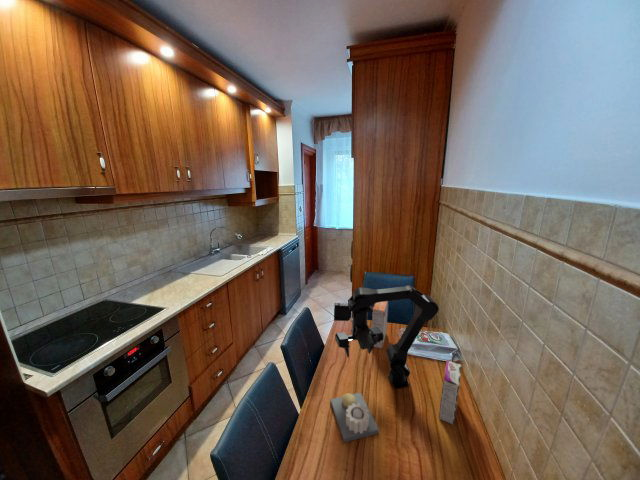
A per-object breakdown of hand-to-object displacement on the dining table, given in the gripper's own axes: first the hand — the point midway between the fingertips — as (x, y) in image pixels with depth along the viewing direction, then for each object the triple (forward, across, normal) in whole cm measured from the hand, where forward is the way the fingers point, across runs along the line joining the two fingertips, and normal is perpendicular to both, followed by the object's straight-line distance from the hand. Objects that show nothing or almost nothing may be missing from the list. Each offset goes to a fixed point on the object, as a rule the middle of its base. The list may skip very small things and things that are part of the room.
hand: (358, 354), depth 100 cm
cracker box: (+12, +21, +22) cm, 33 cm away
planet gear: (+10, -8, -18) cm, 23 cm away
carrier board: (+12, -8, -15) cm, 21 cm away
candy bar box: (+12, +26, -21) cm, 36 cm away
